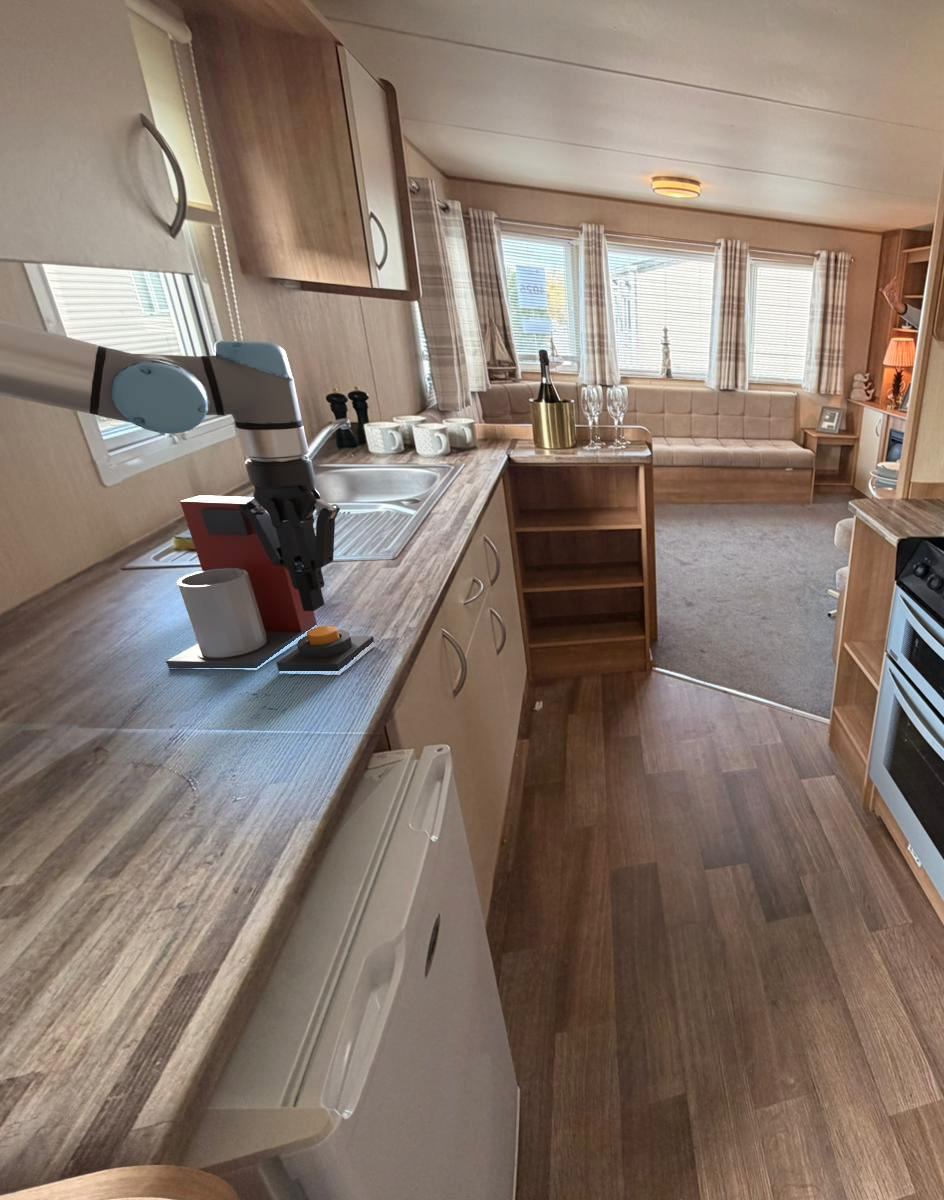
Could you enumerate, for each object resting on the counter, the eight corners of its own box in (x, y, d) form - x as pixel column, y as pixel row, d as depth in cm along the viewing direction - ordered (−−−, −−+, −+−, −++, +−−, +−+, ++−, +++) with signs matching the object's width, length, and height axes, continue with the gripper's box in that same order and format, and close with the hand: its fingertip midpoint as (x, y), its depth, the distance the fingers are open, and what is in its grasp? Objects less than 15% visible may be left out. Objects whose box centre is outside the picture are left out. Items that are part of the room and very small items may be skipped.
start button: (329, 646, 101) (327, 636, 100) (303, 645, 100) (300, 635, 100) (345, 635, 104) (342, 625, 104) (319, 634, 104) (317, 625, 103)
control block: (340, 676, 100) (334, 653, 98) (279, 675, 99) (272, 652, 97) (375, 647, 109) (371, 626, 107) (320, 646, 108) (315, 624, 107)
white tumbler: (187, 657, 99) (161, 585, 94) (227, 634, 107) (206, 567, 102) (242, 658, 100) (220, 587, 95) (279, 635, 107) (260, 569, 103)
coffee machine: (257, 671, 100) (211, 523, 90) (168, 669, 99) (113, 519, 89) (318, 630, 113) (284, 498, 104) (241, 628, 112) (200, 495, 103)
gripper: (341, 455, 95) (371, 600, 104) (249, 450, 94) (287, 597, 103) (308, 464, 88) (343, 618, 97) (208, 458, 87) (252, 615, 96)
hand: (314, 607), depth 100 cm, fingers closed
